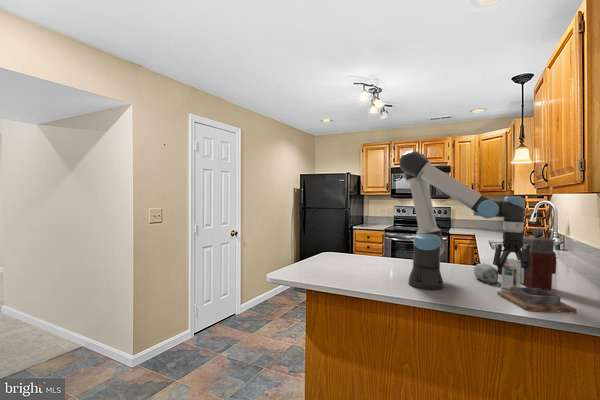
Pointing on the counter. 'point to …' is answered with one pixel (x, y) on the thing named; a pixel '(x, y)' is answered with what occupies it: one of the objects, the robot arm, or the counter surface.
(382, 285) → the counter surface
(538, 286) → the toy vending machine
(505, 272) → the syrup box
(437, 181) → the robot arm
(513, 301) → the board
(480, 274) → the grey green rock
